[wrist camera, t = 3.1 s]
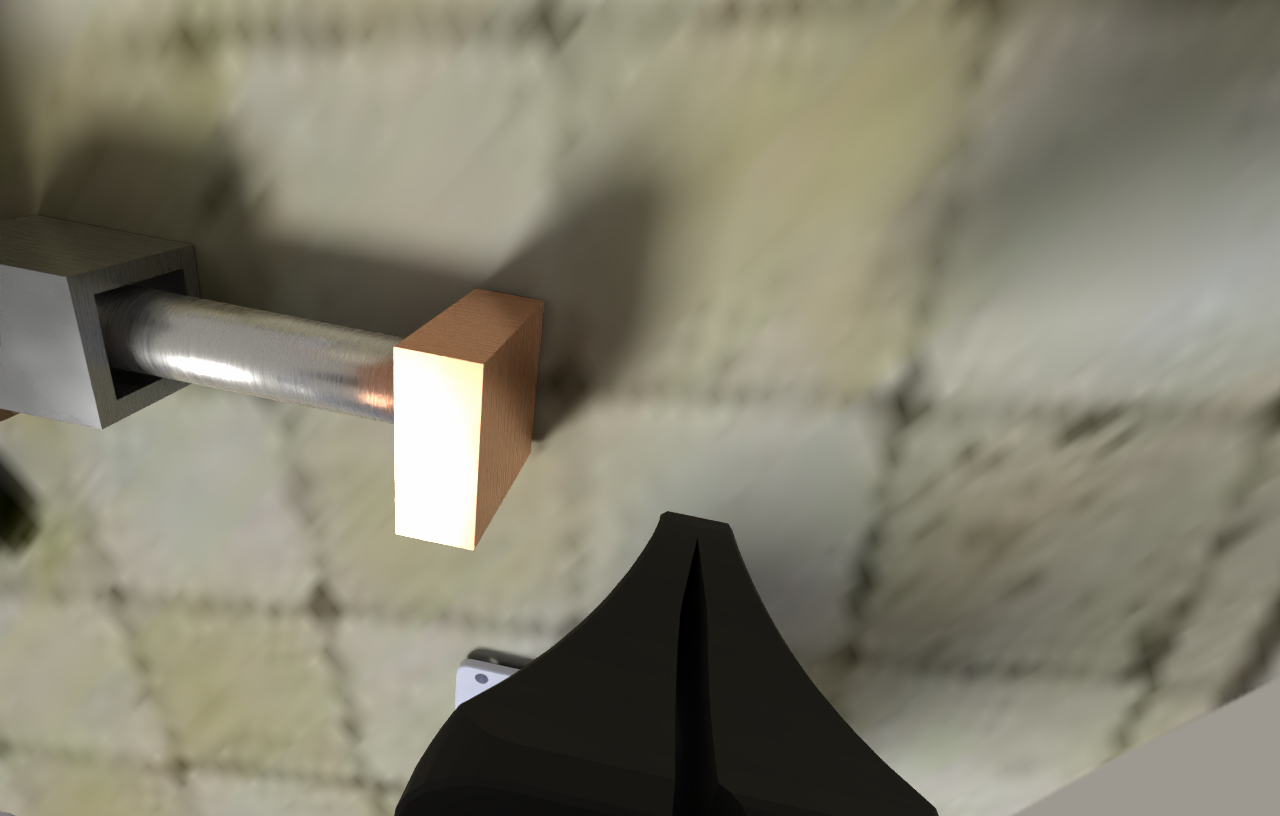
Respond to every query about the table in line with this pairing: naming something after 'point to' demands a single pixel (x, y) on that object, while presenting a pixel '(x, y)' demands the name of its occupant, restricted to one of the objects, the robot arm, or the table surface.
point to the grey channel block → (77, 317)
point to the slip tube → (366, 386)
